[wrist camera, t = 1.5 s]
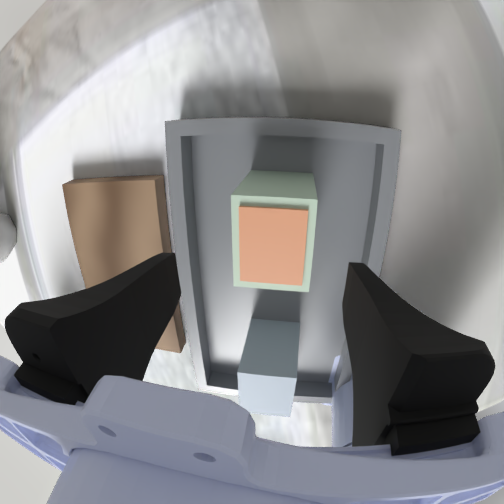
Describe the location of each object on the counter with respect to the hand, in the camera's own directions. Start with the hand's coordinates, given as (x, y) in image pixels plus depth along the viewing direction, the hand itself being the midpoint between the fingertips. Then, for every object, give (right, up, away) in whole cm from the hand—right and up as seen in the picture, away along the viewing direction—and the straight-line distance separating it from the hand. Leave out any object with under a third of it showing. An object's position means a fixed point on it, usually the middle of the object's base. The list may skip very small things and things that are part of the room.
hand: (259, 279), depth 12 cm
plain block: (+2, -7, +13) cm, 15 cm away
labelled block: (+2, +4, +8) cm, 9 cm away
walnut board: (-11, 0, +13) cm, 17 cm away
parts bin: (+2, -1, +11) cm, 11 cm away
